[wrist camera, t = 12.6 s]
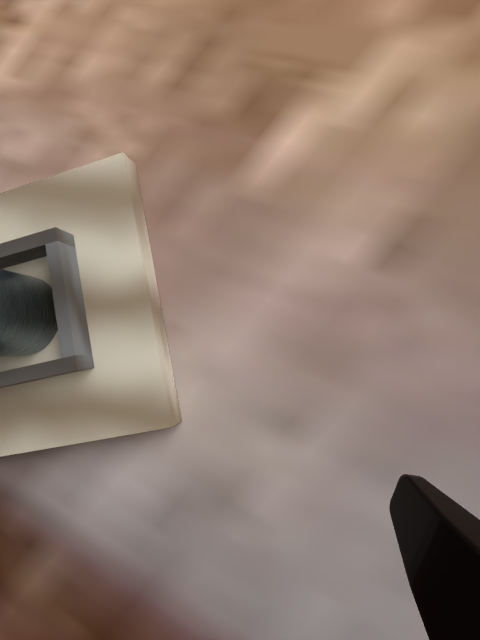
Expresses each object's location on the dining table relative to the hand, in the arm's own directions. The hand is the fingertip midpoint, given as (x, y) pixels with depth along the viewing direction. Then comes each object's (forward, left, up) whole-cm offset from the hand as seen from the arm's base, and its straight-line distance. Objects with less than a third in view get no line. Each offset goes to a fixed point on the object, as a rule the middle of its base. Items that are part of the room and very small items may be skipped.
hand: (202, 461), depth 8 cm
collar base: (+7, +13, -12) cm, 19 cm away
